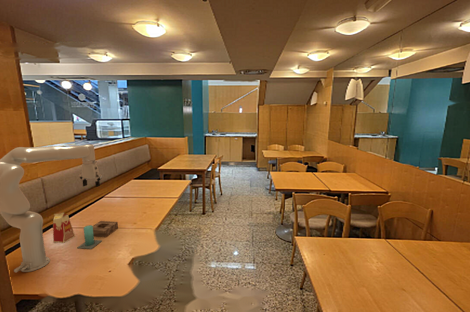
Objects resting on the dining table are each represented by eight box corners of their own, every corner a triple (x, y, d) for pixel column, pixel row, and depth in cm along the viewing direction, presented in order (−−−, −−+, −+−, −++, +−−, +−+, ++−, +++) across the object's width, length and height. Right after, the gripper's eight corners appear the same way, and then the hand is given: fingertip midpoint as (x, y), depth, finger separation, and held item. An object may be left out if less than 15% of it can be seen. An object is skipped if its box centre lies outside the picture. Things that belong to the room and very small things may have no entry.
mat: (91, 249, 142) (91, 248, 141) (77, 248, 143) (77, 247, 142) (102, 241, 151) (102, 240, 151) (88, 240, 152) (88, 239, 152)
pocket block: (105, 237, 156) (105, 230, 156) (87, 236, 158) (86, 229, 157) (118, 227, 170) (117, 221, 169) (101, 226, 172) (100, 220, 171)
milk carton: (75, 236, 157) (72, 209, 154) (64, 243, 148) (60, 215, 145) (63, 235, 158) (60, 209, 155) (51, 242, 149) (48, 214, 146)
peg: (90, 246, 144) (88, 229, 142) (83, 245, 145) (81, 228, 143) (96, 242, 149) (94, 225, 147) (89, 241, 150) (87, 225, 148)
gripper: (104, 161, 155) (106, 185, 158) (82, 161, 157) (84, 184, 160) (96, 163, 148) (98, 188, 151) (73, 163, 150) (76, 187, 153)
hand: (91, 186), depth 155 cm, fingers open, 9 cm apart
